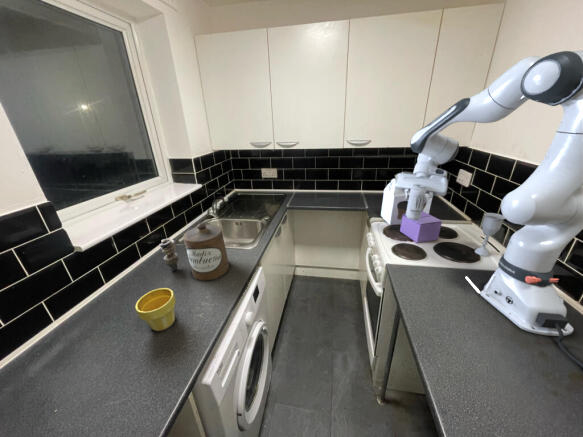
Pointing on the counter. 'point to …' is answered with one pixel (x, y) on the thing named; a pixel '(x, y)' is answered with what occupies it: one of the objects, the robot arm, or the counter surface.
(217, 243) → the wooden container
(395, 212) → the gable box
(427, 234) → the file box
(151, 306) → the flower pot
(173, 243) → the grey tall piece
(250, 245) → the counter surface
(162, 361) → the counter surface
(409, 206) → the energy drink can
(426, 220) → the flap
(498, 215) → the chalice
